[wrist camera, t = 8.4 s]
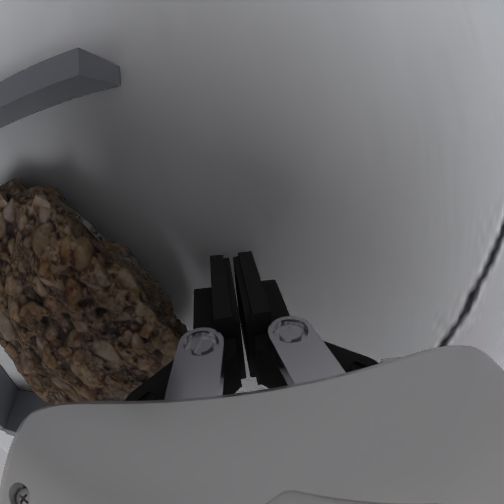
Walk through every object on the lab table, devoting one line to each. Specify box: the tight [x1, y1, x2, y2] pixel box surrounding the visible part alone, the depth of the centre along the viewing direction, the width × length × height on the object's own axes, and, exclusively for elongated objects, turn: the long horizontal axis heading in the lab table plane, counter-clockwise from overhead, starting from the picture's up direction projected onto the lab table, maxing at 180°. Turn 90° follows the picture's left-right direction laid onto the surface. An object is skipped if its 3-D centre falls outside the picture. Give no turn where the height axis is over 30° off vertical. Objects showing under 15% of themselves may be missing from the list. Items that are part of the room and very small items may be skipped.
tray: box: [0, 48, 121, 436], centre depth 10 cm, size 15×19×4 cm
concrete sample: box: [0, 178, 188, 405], centre depth 10 cm, size 12×10×5 cm
